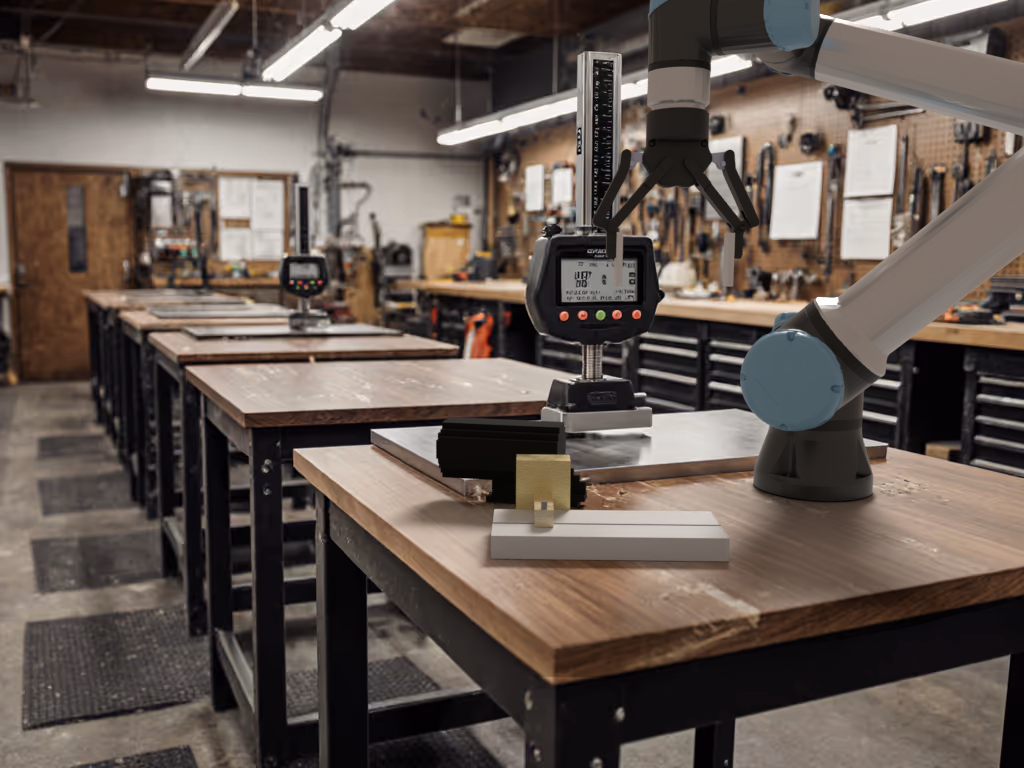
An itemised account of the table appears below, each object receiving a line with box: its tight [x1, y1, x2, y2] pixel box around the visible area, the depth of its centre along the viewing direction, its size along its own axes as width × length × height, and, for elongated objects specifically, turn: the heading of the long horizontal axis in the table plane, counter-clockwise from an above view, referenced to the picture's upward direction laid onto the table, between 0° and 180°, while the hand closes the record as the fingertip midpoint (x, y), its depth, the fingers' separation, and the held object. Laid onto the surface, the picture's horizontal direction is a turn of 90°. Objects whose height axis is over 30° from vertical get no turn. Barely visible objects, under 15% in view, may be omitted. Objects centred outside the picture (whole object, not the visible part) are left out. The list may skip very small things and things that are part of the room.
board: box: [490, 508, 731, 562], centre depth 101 cm, size 24×10×2 cm, turn 89°
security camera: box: [435, 416, 588, 509], centre depth 117 cm, size 7×18×10 cm, turn 78°
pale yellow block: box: [515, 454, 572, 527], centre depth 103 cm, size 6×10×8 cm, turn 179°
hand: (672, 286), depth 118 cm, fingers open, 13 cm apart
